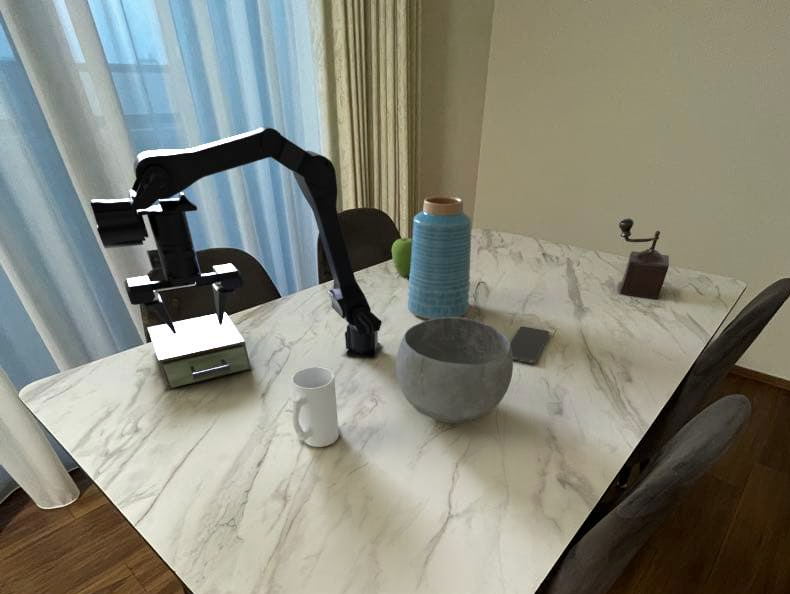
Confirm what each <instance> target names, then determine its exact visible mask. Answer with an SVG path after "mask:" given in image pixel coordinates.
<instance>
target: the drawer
mask: <svg viewBox="0 0 790 594" xmlns="http://www.w3.org/2000/svg"><path fill="white" fill-rule="evenodd" d="M163 365H164V368H165V371H166V373H167V376H168V379H169V382H170V385H171V387H176V386H180V385H184V384H188V383H192V382H196V381H200V380H204V379H208V378H212V377H217V376H221V375H225V374H229V373H233V372H237V371H241V370H245V369H249V367H248V362H247V358H246V354H245V349H244V347H243V346H240V347H238V346H237V347H232V348H228V349H223V350H219V351H214V352H210V353H206V354H201V355H197V356H192V357H188V358H183V359H179V360H175V361H170V362H167V363H165V364H163ZM249 370H250V369H249ZM245 371H246V370H245ZM241 372H242V371H241ZM237 373H238V372H237ZM233 374H234V373H233ZM229 375H230V374H229ZM225 376H226V375H225ZM221 377H222V376H221ZM217 378H218V377H217Z"/></svg>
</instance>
